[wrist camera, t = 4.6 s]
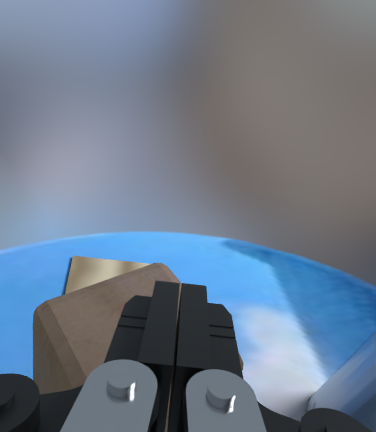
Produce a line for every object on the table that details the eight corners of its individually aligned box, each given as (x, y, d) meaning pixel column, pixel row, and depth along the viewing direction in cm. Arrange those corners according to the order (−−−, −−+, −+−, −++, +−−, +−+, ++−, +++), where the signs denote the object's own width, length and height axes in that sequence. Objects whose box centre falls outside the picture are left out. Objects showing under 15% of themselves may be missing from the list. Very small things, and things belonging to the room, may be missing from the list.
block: (75, 560, 27) (105, 468, 15) (30, 437, 32) (26, 300, 21) (177, 474, 33) (255, 362, 21) (125, 383, 38) (164, 253, 27)
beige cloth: (161, 266, 54) (161, 265, 53) (168, 383, 40) (168, 381, 39) (72, 257, 51) (73, 255, 50) (46, 380, 37) (46, 378, 36)
